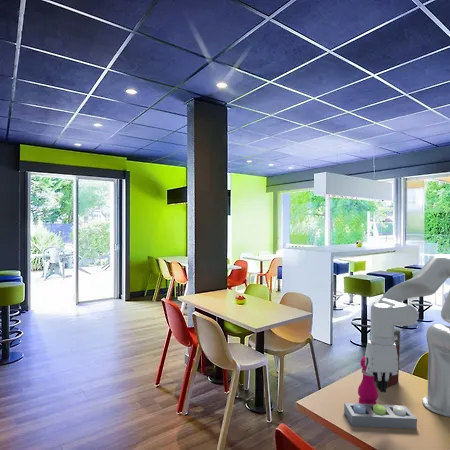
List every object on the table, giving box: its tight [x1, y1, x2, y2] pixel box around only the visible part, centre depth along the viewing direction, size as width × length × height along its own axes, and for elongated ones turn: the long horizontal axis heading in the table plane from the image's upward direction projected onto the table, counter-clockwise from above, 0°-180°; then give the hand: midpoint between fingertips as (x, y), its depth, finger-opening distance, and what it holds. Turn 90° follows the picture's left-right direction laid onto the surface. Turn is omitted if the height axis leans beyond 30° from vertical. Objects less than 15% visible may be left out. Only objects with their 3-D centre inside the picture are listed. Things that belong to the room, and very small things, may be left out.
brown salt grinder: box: [369, 328, 401, 388], centre depth 147 cm, size 9×11×28 cm
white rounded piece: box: [393, 404, 406, 416], centre depth 116 cm, size 4×4×4 cm
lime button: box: [373, 403, 386, 415], centre depth 117 cm, size 4×4×4 cm
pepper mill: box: [357, 356, 379, 404], centre depth 127 cm, size 7×7×20 cm
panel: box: [343, 402, 418, 430], centre depth 117 cm, size 22×8×4 cm, turn 88°
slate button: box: [353, 403, 366, 414], centre depth 117 cm, size 4×4×4 cm
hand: (381, 390), depth 117 cm, fingers closed
